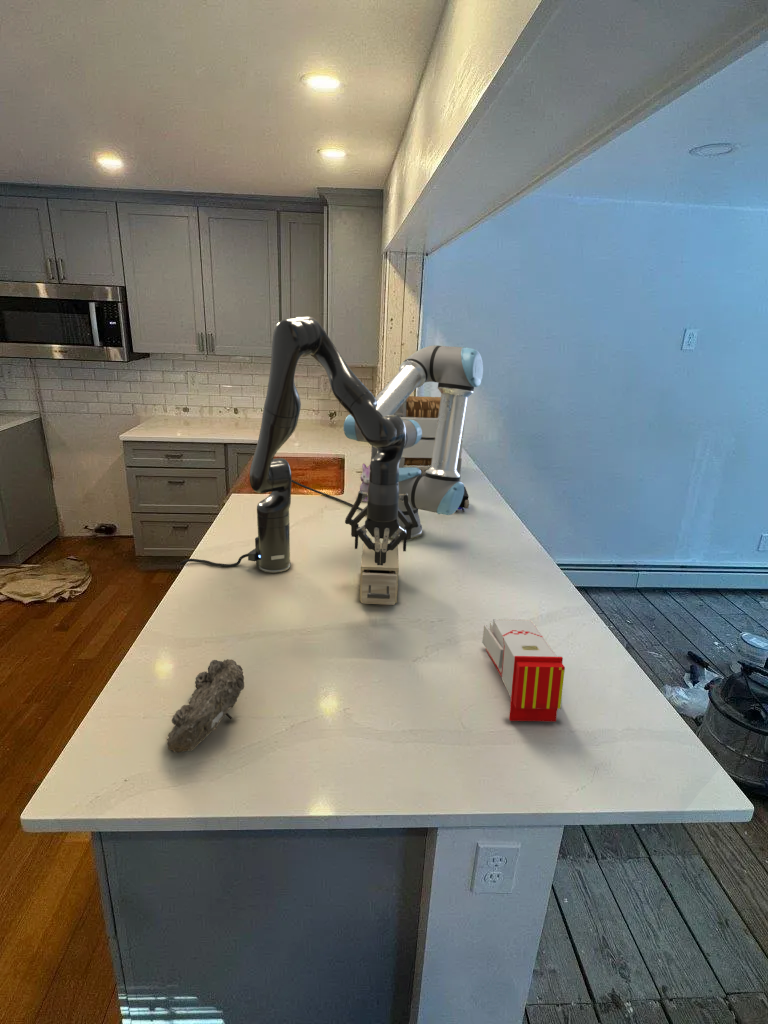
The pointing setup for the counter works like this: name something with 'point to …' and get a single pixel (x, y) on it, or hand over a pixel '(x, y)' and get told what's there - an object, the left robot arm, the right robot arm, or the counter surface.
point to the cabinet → (370, 564)
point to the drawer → (378, 587)
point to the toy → (526, 669)
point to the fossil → (206, 705)
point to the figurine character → (464, 501)
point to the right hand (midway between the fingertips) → (380, 548)
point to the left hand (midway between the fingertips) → (380, 564)
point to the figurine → (365, 480)
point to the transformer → (426, 417)
